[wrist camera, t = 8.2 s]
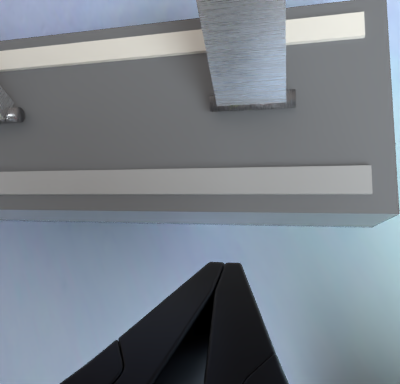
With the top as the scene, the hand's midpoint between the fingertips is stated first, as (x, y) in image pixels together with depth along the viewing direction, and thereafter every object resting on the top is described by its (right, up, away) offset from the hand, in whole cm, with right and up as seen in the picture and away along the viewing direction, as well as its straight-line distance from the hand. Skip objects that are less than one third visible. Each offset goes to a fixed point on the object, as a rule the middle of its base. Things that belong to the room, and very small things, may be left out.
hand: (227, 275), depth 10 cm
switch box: (-4, +5, +14) cm, 16 cm away
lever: (+2, +6, +7) cm, 10 cm away
